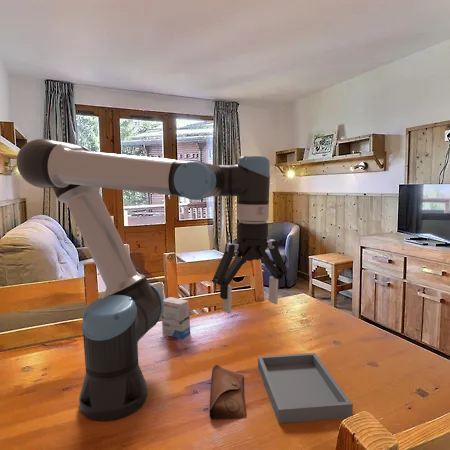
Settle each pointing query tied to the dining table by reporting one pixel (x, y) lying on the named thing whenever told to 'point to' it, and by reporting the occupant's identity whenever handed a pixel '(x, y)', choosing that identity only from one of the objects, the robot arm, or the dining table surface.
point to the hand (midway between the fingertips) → (250, 307)
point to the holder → (302, 389)
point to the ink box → (176, 318)
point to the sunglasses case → (226, 395)
